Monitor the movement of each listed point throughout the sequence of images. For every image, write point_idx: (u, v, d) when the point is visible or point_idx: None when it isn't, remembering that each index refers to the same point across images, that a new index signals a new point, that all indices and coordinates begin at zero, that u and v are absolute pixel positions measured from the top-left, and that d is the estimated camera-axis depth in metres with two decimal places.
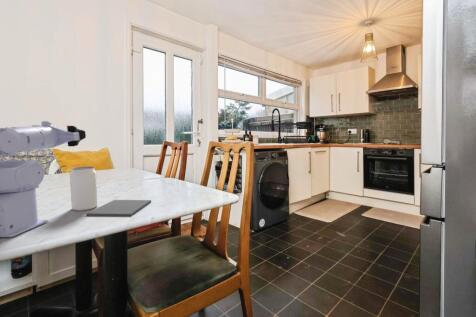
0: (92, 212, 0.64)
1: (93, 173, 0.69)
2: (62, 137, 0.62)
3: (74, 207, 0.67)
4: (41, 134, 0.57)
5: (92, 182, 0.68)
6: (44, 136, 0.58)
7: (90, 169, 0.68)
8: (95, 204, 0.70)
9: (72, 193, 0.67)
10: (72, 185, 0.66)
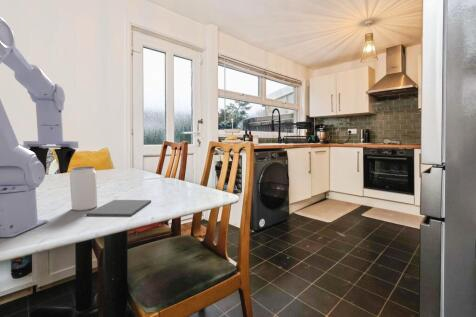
0: (92, 212, 0.64)
1: (93, 173, 0.69)
2: None
3: (74, 207, 0.67)
4: None
5: (92, 182, 0.68)
6: (60, 127, 0.68)
7: (90, 169, 0.68)
8: (95, 204, 0.70)
9: (72, 193, 0.67)
10: (72, 185, 0.66)
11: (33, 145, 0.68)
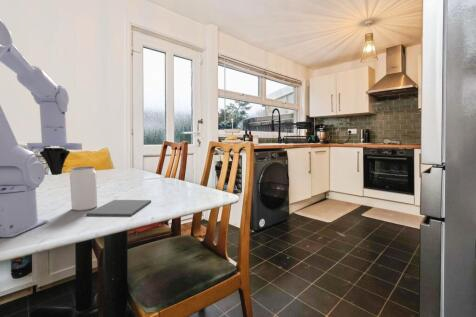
0: (92, 212, 0.64)
1: (93, 173, 0.69)
2: None
3: (74, 207, 0.67)
4: (65, 126, 0.69)
5: (92, 182, 0.68)
6: (64, 128, 0.68)
7: (90, 169, 0.68)
8: (95, 204, 0.70)
9: (72, 193, 0.67)
10: (72, 185, 0.66)
11: (37, 147, 0.68)
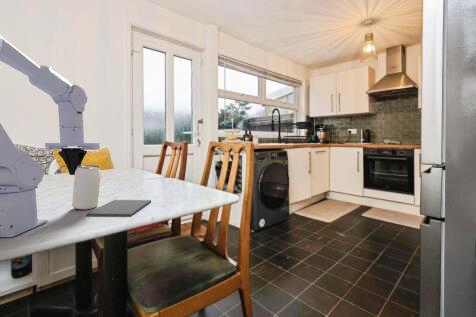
0: (92, 212, 0.64)
1: (98, 173, 0.69)
2: None
3: (75, 205, 0.67)
4: (82, 126, 0.68)
5: (96, 182, 0.68)
6: (82, 128, 0.68)
7: (96, 169, 0.68)
8: (95, 204, 0.70)
9: (74, 191, 0.67)
10: (76, 183, 0.66)
11: (55, 147, 0.68)
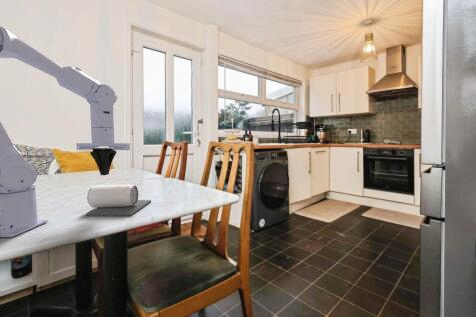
0: (92, 212, 0.64)
1: None
2: None
3: (90, 197, 0.66)
4: (110, 126, 0.67)
5: (120, 206, 0.69)
6: (113, 128, 0.68)
7: (133, 204, 0.69)
8: None
9: (104, 194, 0.66)
10: (113, 194, 0.66)
11: (85, 147, 0.68)
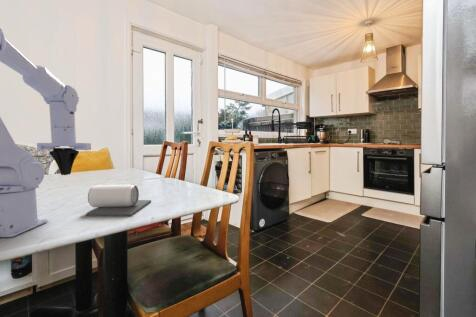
0: (92, 212, 0.64)
1: None
2: None
3: (90, 196, 0.66)
4: (74, 126, 0.69)
5: (120, 206, 0.69)
6: (73, 128, 0.68)
7: (133, 204, 0.69)
8: None
9: (105, 193, 0.66)
10: (113, 194, 0.66)
11: (46, 147, 0.68)
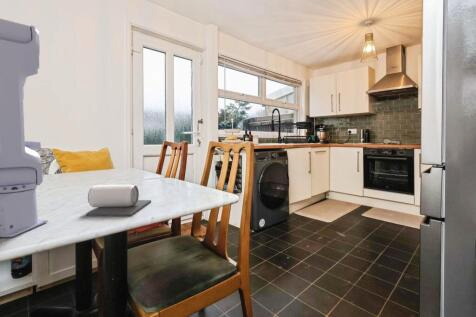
0: (92, 212, 0.64)
1: None
2: None
3: (90, 196, 0.66)
4: None
5: (120, 206, 0.69)
6: None
7: (133, 204, 0.69)
8: None
9: (105, 193, 0.66)
10: (113, 194, 0.66)
11: None
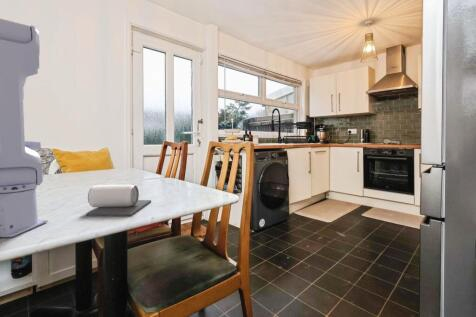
0: (92, 212, 0.64)
1: None
2: None
3: (90, 196, 0.66)
4: None
5: (120, 206, 0.69)
6: None
7: (133, 204, 0.69)
8: None
9: (105, 193, 0.66)
10: (113, 194, 0.66)
11: None
